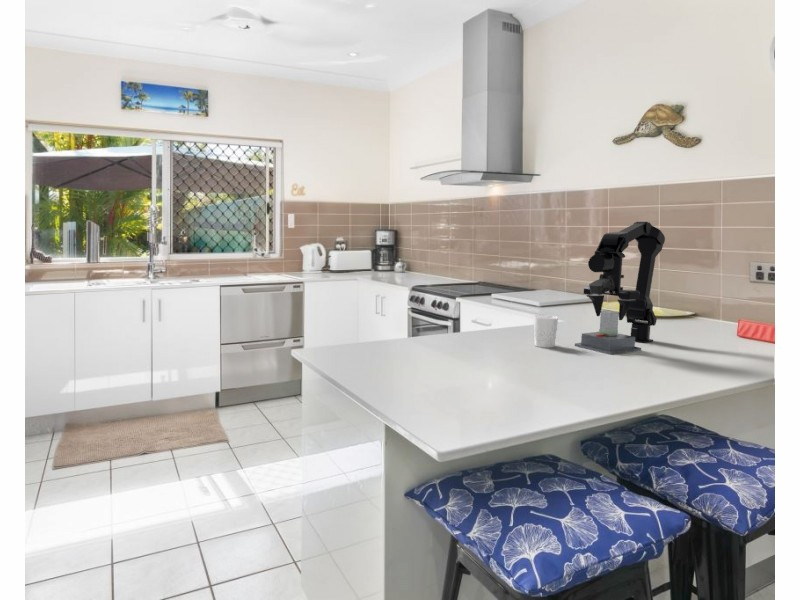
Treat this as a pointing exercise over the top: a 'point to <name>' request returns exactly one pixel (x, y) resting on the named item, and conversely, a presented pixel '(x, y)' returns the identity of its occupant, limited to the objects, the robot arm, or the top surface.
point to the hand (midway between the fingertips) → (609, 318)
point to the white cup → (545, 330)
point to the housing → (608, 343)
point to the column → (609, 323)
